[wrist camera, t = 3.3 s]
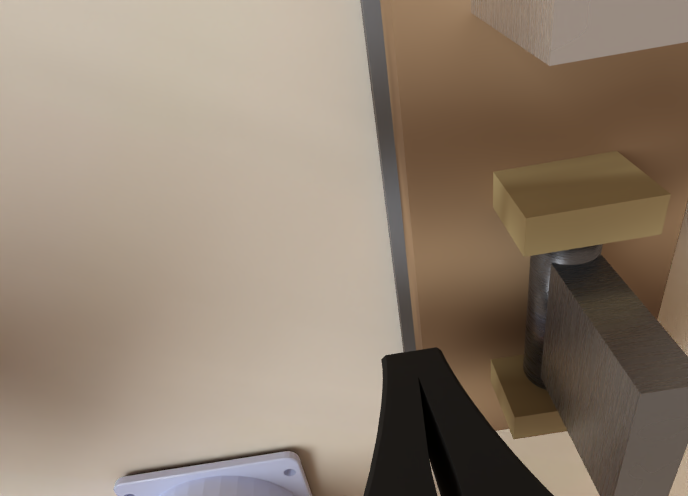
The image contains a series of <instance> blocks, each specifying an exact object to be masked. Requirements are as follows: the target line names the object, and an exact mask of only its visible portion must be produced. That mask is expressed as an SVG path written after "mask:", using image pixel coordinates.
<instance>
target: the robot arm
mask: <svg viewBox="0 0 688 496" xmlns="http://www.w3.org/2000/svg"><path fill="white" fill-rule="evenodd" d="M381 360H382V368H383V389H382V402H381V411H380V418H379V425H378V432H377V438H376V444H375V448H374V453H373V458H372V463H371V468H370V472H369V476H368V480H367V484H366V488H365V492H364V496H437V492H436V488H435V484H434V480H433V476H432V472H431V466H432V469H433V472H434V475H435V479H436V482H437V485H438V488H439V491H440V495H441V496H554V495H552V494H551V493H550V492H549V491H548V490H547V489H546V487H545V486H544V485H543V484H542V483H541V482H540V481H539V480H538V479H537V478H536V477H535V476H534V475H533V474H532V473H531V472H530V471H529V470H528V468H527V467H526V466H525V465H524V464H523V463H522V462H521V461H520V460H519V458H518V457H517V456H516V455H515V454H514V453H513V452H512V450H511V449H510V448H509V447H508V446H507V444H506V443H505V442H504V441H503V440H502V439H501V437H500V436H499V435H498V434H497V432H496V431H495V430H494V429H493V427H492V426H491V425H490V424H489V422H488V421H487V420H486V418H485V417H484V416H483V414H482V413H481V412H480V410H479V409H478V408H477V406H476V405H475V404H474V402H473V401H472V400H471V398H470V397H469V395H468V394H467V392H466V391H465V389H464V388H463V386H462V385H461V383H460V382H459V380H458V379H457V377H456V376H455V374H454V373H453V371H452V369H451V368H450V366H449V364H448V362H447V360H446V359H445V357H444V355H443V353H442V351H441V350H440V349H439V348H437V347H434V348H428V349H422V350H416V351H409V352H403V353H397V354H391V355H386V356H385V357H384V358H382V359H381ZM429 459H430V460H429ZM430 463H431V466H430ZM114 492H115V493H116V495H117V496H312V494H311V491H310V488H309V485H308V482H307V479H306V476H305V473H304V470H303V467H302V464H301V461H300V458H299V456H298V455H297V454H296V453H294V452H291V451H284V452H277V453H271V454H265V455H258V456H252V457H245V458H239V459H233V460H226V461H220V462H213V463H207V464H200V465H194V466H188V467H181V468H175V469H168V470H162V471H156V472H149V473H143V474H136V475H130V476H124V477H120V478H119V479H117V480H116V483H115V486H114Z"/></svg>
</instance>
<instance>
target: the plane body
mask: <svg viewBox="0 0 688 496" xmlns="http://www.w3.org/2000/svg"><path fill="white" fill-rule="evenodd" d="M361 8H362V16H363V25H364V33H365V41H366V49H367V57H368V65H369V74H370V82H371V90H372V98H373V106H374V114H375V122H376V131H377V139H378V147H379V155H380V163H381V171H382V179H383V188H384V196H385V204H386V212H387V220H388V228H389V237H390V245H391V253H392V261H393V269H394V277H395V285H396V294H397V302H398V310H399V318H400V326H401V334H402V343H403V351H404V352H409V351H416V350H422V349H428V348H434V347H437V348H439V349H440V350H441V351H442V353H443V355H444V357H445V359H446V360H447V362H448V364H449V366H450V368H451V369H452V371H453V373H454V374H455V376H456V377H457V379H458V380H459V382H460V383H461V385H462V386H463V388H464V389H465V391H466V392H467V394H468V395H469V397H470V398H471V400H472V401H473V402H474V404H475V405H476V406H477V408H478V409H479V410H480V412H481V413H482V414H483V416H484V417H485V418H486V420H487V421H488V422H489V424H490V425H491V426H492V427H493V429H494V430H495V431H497V430H503V429H510V431H511V434H512V436H513V439H518V438H525V437H531V436H538V435H544V434H551V433H557V432H564V431H567V429H566V427H565V425H564V423H563V421H562V419H561V417H560V415H559V413H558V411H557V409H556V407H555V405H554V403H553V401H552V399H551V397H550V395H549V393H548V391H547V390H545V389H542V388H540V387H538V386H536V385H535V384H533V383H532V382H531V381H530V380H529V379H528V378H527V377H526V375H525V373H524V370H523V361H524V346H525V330H526V315H527V300H528V284H529V269H530V256H533V255H539V254H545V253H551V252H557V251H563V250H569V249H575V248H581V247H588V246H594V245H600V244H603V245H602V251H601V255H602V256H603V257H604V258H605V259H606V260H607V262H608V263H609V264H610V265H611V266H612V268H613V269H614V270H615V271H616V272H617V273H618V275H619V276H620V277H621V278H622V279H623V281H624V282H625V283H626V284H627V285H628V287H629V288H630V289H631V290H632V291H633V292H634V294H635V295H636V296H637V297H638V298H639V300H640V301H641V302H642V303H643V304H644V306H645V307H646V308H647V309H648V310H649V311H650V313H651V314H652V315H653V316H654V317H655V319H656V320H657V318H658V314H659V310H660V306H661V302H662V298H663V294H664V291H665V287H666V283H667V279H668V275H669V271H670V267H671V264H672V260H673V256H674V252H675V248H676V244H677V240H678V237H679V233H680V229H681V225H682V221H683V217H684V213H685V210H686V206H687V202H688V42H685V43H679V44H673V45H667V46H662V47H656V48H650V49H644V50H639V51H633V52H627V53H621V54H616V55H610V56H604V57H598V58H593V59H587V60H581V61H576V62H570V63H564V64H558V65H553V66H549V65H547V64H546V63H544V62H543V61H541V60H540V59H538V58H537V57H536V56H534V55H533V54H531V53H530V52H528V51H527V50H525V49H524V48H522V47H521V46H519V45H518V44H516V43H515V42H513V41H512V40H511V39H509V38H508V37H506V36H505V35H503V34H502V33H500V32H499V31H497V30H496V29H494V28H493V27H491V26H490V25H488V24H487V23H486V22H484V21H483V20H481V19H480V18H478V17H477V16H475V15H474V14H472V13H471V0H361Z"/></svg>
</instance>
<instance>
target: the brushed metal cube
mask: <svg viewBox="0 0 688 496" xmlns="http://www.w3.org/2000/svg"><path fill="white" fill-rule="evenodd" d="M471 13H472V14H474V15H475V16H477V17H478V18H480V19H481V20H483V21H484V22H486V23H487V24H488V25H490V26H491V27H493V28H494V29H496V30H497V31H499V32H500V33H502V34H503V35H505V36H506V37H508V38H509V39H511V40H512V41H513V42H515V43H516V44H518V45H519V46H521V47H522V48H524V49H525V50H527V51H528V52H530V53H531V54H533V55H534V56H536V57H537V58H538V59H540V60H541V61H543V62H544V63H546V64H547V65H549V66H553V65H558V64H564V63H570V62H576V61H581V60H587V59H593V58H598V57H604V56H610V55H616V54H621V53H627V52H633V51H639V50H644V49H650V48H656V47H662V46H667V45H673V44H679V43H685V42H688V0H471Z"/></svg>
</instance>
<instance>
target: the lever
mask: <svg viewBox="0 0 688 496" xmlns="http://www.w3.org/2000/svg"><path fill="white" fill-rule="evenodd" d="M602 245H603V244H600V245H594V246H588V247H581V248H575V249H569V250H563V251H557V252H551V253H545V254H539V255H533V256H530V269H529V284H528V300H527V315H526V330H525V346H524V361H523V370H524V373H525V375H526V377H527V378H528V379H529V380H530V381H531V382H532V383H533V384H535V385H536V386H538V387H540V388H542V389H545V390H547V391H548V393H549V395H550V397H551V399H552V401H553V403H554V405H555V407H556V409H557V411H558V413H559V415H560V417H561V419H562V421H563V423H564V425H565V427H566V429H567V431H568V433H569V435H570V437H571V439H572V441H573V443H574V445H575V447H576V449H577V451H578V453H579V455H580V457H581V459H582V461H583V463H584V465H585V467H586V469H587V471H588V473H589V475H590V477H591V479H592V481H593V483H594V485H595V487H596V489H597V491H598V493H599V495H600V496H668V495H669V492H670V489H671V487H672V484H673V481H674V479H675V476H676V473H677V471H678V468H679V465H680V463H681V460H682V457H683V455H684V452H685V449H686V447H687V444H688V357H687V355H686V354H685V353H684V352H683V351H682V349H681V348H680V347H679V346H678V345H677V344H676V342H675V341H674V340H673V339H672V338H671V336H670V335H669V334H668V333H667V332H666V330H665V329H664V328H663V327H662V326H661V325H660V323H659V322H658V321H657V320H656V319H655V317H654V316H653V315H652V314H651V313H650V311H649V310H648V309H647V308H646V307H645V306H644V304H643V303H642V302H641V301H640V300H639V298H638V297H637V296H636V295H635V294H634V292H633V291H632V290H631V289H630V288H629V287H628V285H627V284H626V283H625V282H624V281H623V279H622V278H621V277H620V276H619V275H618V273H617V272H616V271H615V270H614V269H613V268H612V266H611V265H610V264H609V263H608V262H607V260H606V259H605V258H604V257H603V256H602V255H601V251H602Z"/></svg>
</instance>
